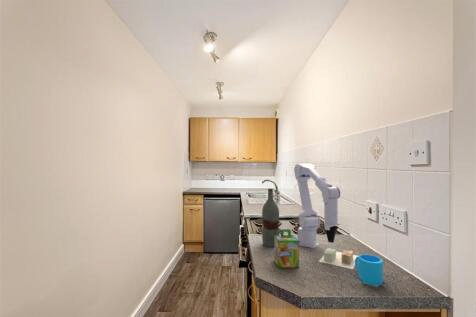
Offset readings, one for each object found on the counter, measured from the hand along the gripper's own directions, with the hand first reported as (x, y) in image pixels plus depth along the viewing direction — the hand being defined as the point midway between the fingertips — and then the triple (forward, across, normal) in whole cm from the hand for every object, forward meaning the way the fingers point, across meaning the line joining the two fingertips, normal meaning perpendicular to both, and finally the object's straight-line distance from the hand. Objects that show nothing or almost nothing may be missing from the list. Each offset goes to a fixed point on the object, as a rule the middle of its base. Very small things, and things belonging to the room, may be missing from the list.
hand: (331, 242), depth 114 cm
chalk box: (+8, -17, +15) cm, 24 cm away
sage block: (+5, +1, 0) cm, 5 cm away
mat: (+8, 0, -4) cm, 8 cm away
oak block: (+5, +3, -7) cm, 9 cm away
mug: (+8, -12, -16) cm, 22 cm away
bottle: (+8, +2, +32) cm, 33 cm away
